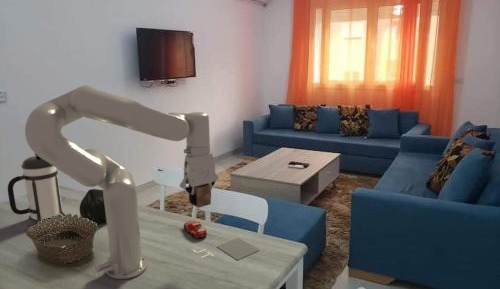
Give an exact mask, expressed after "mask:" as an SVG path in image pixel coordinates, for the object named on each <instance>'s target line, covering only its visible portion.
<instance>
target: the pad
mask: <svg viewBox="0 0 500 289" xmlns="http://www.w3.org/2000/svg"><path fill="white" fill-rule="evenodd" d="M216 248H218V249H219V250H220V251H223V252H224V253H225V254H227V255H228V256H230V257H231V258H233V259H234V260H236V261H239V260H242V259H244V258H247V257H248V256H251V255H253V254H256V253H257V252H259V251H260V249H258V248H257V247H255V246H253V244H250V243H249V242H247V241H245V240H243V239H241V238H240V237H237V238H234V239H231V240H230V241H227V242H224V243H221V244H219V245H217V246H216Z"/></svg>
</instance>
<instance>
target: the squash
mask: <svg viewBox="0 0 500 289" xmlns="http://www.w3.org/2000/svg"><path fill="white" fill-rule="evenodd" d="M79 204H80V205H79V214H80V217H81V216H82V217H83V218H88V219H89V220H92V221H93V222H96V223H95V224H96V225H97V224H102V222H104V223H107V222H106V212H105V205H104V197H103V189H97V188H91V189H88V191H87V192H86V194H85V195H84V196H83V198H82V199H81V201H80V203H79ZM82 217H81V218H82Z"/></svg>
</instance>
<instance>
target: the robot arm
mask: <svg viewBox="0 0 500 289" xmlns="http://www.w3.org/2000/svg"><path fill="white" fill-rule="evenodd" d="M81 118H87V119H91V120H93V121H99V122H104V123H107V124H111V125H114V126H119V127H123V128H126V129H128V130H131V131H136V132H139V133H142V134H145V135H149V136H152V137H156V138H159V139H163V140H168V141H173V142H180V141H183V140H185V139H186V143H185V144H186V148H185V149H183V153H184V154H186V155H185V156H184V157H185V158H184V164H183V179H182V181H181V182H180V184H179V188H180V189H182V190H184V191H186V192H187V193H188V199H189V200H188V202H189V204H190V203H191V204H190V205H192V206H194V207H196V194H195V189H196V186H200V185H204V184H210V193H211V194H212V190H213V187H214V185H215V183H216V182H217V180H218V179H220V177H219V176H218V175H217V172H216V164H215V159H214V155H213V152H211V142H210V140H211V139H210V117H209V114H208V113H206V112H202V111H201V112H200V111H194V112H188V113H184V112H168V113H166V112H162V111H159V110H156V109H153V108H150V107H148V106H146V105H144V104H142V103H140V102H138V101H136V100H133V99H131V98H126V97H124V96H120V95H117V94H112V93H109V92H107V91H106V92H105V91H101V90H98V89H96V88H94V87H93V86H90V85H82V86H79V87H76V88H75V89H73V90H70V91H68V92H66V93H64V94H62V95H60V96H57V97H55V98H52V99H51V100H47V101H46V102H43V103H42V104H40V105H38V106H37V107H35V108H34V109H33V110H32V111H31V112H30V113H29V115H28V117H27V119H26V123H25V126H24V127H25V128H24V134H25V140H26V142H27V144H28V147H29V148H30V150H31V151H32V153H34V155H35V154H36V155H38V156H39V157H40V158H42V159H43V160H45V161H46V162H48V163H50V164H51V165H53V166H54V167H56V168H57V170H58V171H60V172H62V173H63V174H65V175H66V176H68V177H70V178H71V179H73V180H74V181H75V182H77V183H79V184H81V185H82V186H84V187H89V188H94V187H96V186H97V187H99V188H100V189H101V190H103V197H104V205H105V212H106V222H105V223H106V227H107V228H106V229H107V236H108V245H109V255H110V256H109V257H107V261H105V262H104V263H102V264H98V265H96V266H95V267H94V268H95V272H96V273H99V272H102V274H107V276H109V277H110V278H112V279H114V280H115V279H116V280H126V279H132V278H134V277H136V276H139V275H141V274H143V273H144V271H145V270H146V269H148V260H147V259H146V258H145V257H144V256H143V255H142V254H143V253H142V246H141V233H140V221H139V209H138V206H139V205H138V192H137V191H138V190H137V187H136V183H135V180H134V178H133V174H131V172H130V171H129V170H128V169H126V168H125V167H124V166H122V165H121V164H119V163H117V162H116V161H114V160H113V159H112V158H110V157H109V156H108V155H106V154H105V153H103V152H101V151H99V150H97V149H93V148H91V149H90V148H89V149H84V148H82V147H81V146H79V145H78V144H76V143H75V142H74V141H72V140H70V139H69V138H66V137H65V136H64V135H63V134H62V129H63V127H65V126H67V125H69V124H71V123H74V122H75V121H77V120H79V119H81ZM36 155H35V156H36ZM187 185H188V186H187Z"/></svg>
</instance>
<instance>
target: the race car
mask: <svg viewBox="0 0 500 289" xmlns="http://www.w3.org/2000/svg"><path fill="white" fill-rule="evenodd" d="M183 228H184V230H185V231H186V232H188V233H189V234H190V236H192V238H193V239H194V238H195V239H200V238H203V237H206V236H208V233H207V229H206V228H205V227H204V226H203V225H202V224H201V223H200V221H195V220H189V221H186V222H184V224H183Z"/></svg>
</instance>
